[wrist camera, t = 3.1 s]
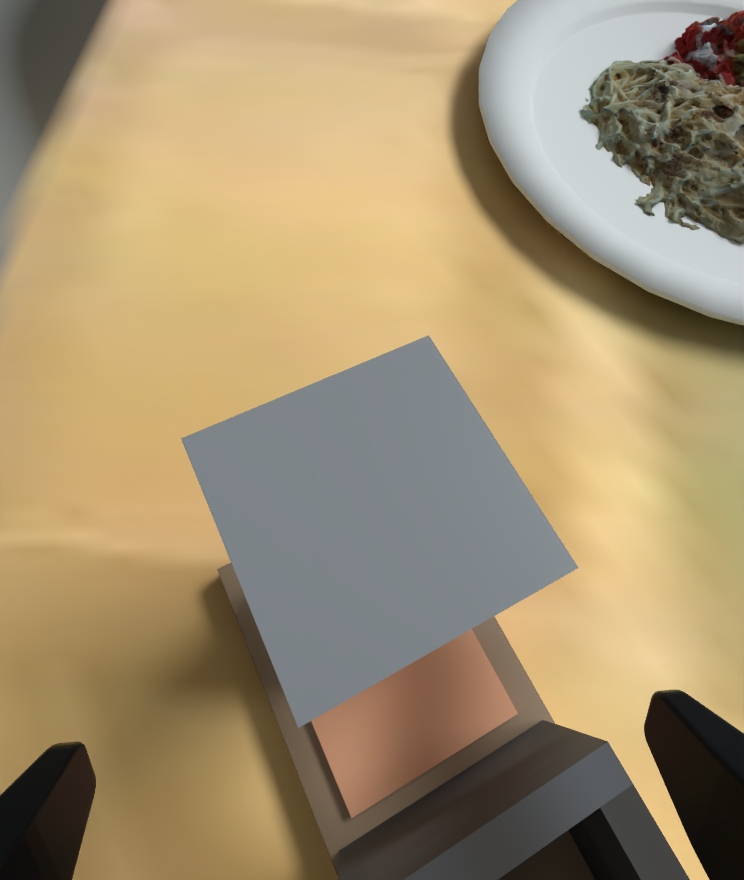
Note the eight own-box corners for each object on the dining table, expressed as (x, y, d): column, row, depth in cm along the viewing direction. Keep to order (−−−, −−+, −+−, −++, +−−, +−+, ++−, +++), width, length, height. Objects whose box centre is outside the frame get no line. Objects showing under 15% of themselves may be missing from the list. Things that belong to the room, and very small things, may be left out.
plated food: (502, 354, 24) (526, 309, 21) (451, -19, 35) (462, -84, 32) (1100, 360, 25) (1205, 319, 22) (864, 1, 37) (912, -59, 34)
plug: (328, 679, 17) (298, 728, 6) (280, 569, 18) (180, 438, 7) (433, 621, 18) (578, 567, 7) (380, 519, 19) (428, 335, 8)
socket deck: (456, 1160, 14) (522, 1464, 8) (223, 573, 19) (179, 544, 14) (684, 970, 15) (853, 1127, 10) (410, 482, 21) (431, 427, 16)
